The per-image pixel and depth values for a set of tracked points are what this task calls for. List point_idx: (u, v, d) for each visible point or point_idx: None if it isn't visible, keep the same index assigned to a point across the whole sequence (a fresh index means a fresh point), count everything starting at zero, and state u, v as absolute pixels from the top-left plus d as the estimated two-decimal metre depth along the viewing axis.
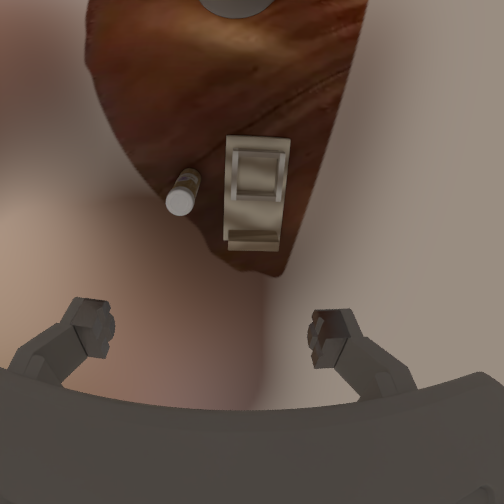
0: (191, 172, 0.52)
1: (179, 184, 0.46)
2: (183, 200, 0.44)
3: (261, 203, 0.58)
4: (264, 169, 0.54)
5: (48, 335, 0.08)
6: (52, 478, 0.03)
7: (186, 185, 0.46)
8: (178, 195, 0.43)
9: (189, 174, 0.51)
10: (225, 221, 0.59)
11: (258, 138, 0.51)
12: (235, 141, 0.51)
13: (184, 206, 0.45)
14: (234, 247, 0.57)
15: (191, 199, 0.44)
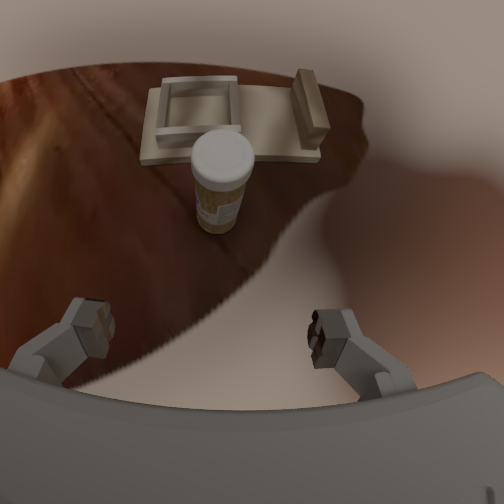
0: None
1: (195, 181, 0.22)
2: (215, 144, 0.19)
3: (248, 108, 0.34)
4: (193, 108, 0.33)
5: (48, 335, 0.08)
6: (52, 478, 0.03)
7: None
8: (203, 153, 0.19)
9: None
10: (287, 153, 0.33)
11: (145, 120, 0.32)
12: (148, 147, 0.31)
13: (229, 142, 0.19)
14: (322, 119, 0.30)
15: (213, 130, 0.20)
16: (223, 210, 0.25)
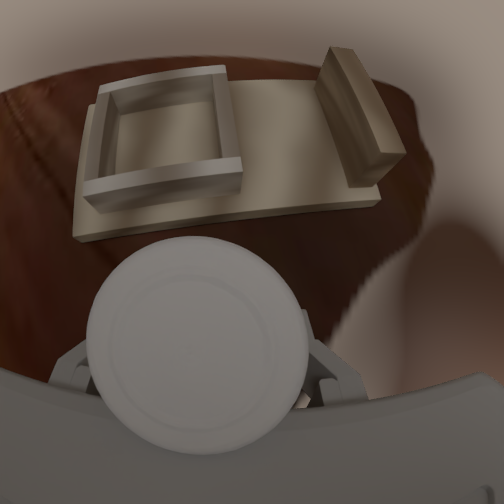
0: None
1: None
2: (157, 317, 0.05)
3: (250, 118, 0.20)
4: (155, 129, 0.19)
5: None
6: (52, 478, 0.03)
7: None
8: (121, 361, 0.05)
9: None
10: (327, 198, 0.19)
11: (80, 161, 0.18)
12: (85, 211, 0.17)
13: (211, 303, 0.05)
14: (391, 136, 0.15)
15: (144, 252, 0.05)
16: None
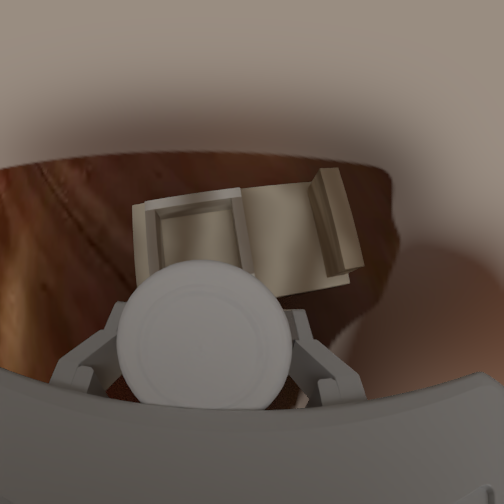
0: None
1: None
2: (175, 324, 0.07)
3: (259, 226, 0.30)
4: (191, 235, 0.29)
5: (93, 343, 0.08)
6: (52, 478, 0.03)
7: None
8: (147, 358, 0.06)
9: None
10: (311, 287, 0.29)
11: (136, 258, 0.28)
12: None
13: (216, 313, 0.07)
14: (355, 253, 0.25)
15: (163, 273, 0.07)
16: None
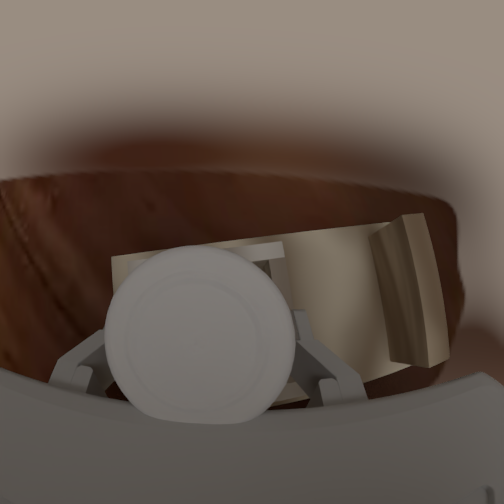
0: None
1: None
2: (167, 314, 0.06)
3: (304, 294, 0.20)
4: None
5: (92, 343, 0.08)
6: (52, 478, 0.03)
7: None
8: (136, 352, 0.06)
9: None
10: (370, 376, 0.19)
11: None
12: None
13: (212, 302, 0.06)
14: (442, 343, 0.15)
15: (155, 259, 0.06)
16: None
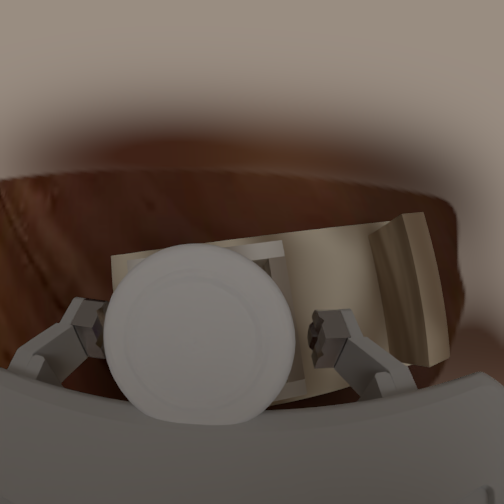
0: None
1: None
2: (166, 312, 0.06)
3: (304, 293, 0.20)
4: None
5: (48, 335, 0.08)
6: (52, 478, 0.03)
7: None
8: (135, 351, 0.06)
9: None
10: None
11: None
12: None
13: (211, 300, 0.06)
14: (442, 342, 0.15)
15: (154, 257, 0.06)
16: None
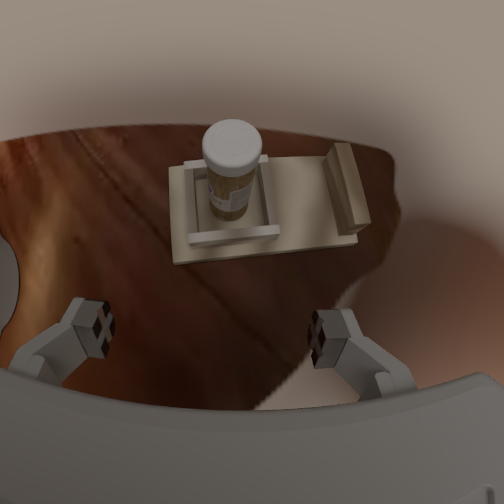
0: None
1: (207, 169, 0.23)
2: (224, 133, 0.20)
3: (281, 189, 0.34)
4: None
5: (48, 335, 0.08)
6: (52, 478, 0.03)
7: None
8: (214, 142, 0.20)
9: None
10: (325, 243, 0.33)
11: (171, 212, 0.33)
12: (180, 246, 0.32)
13: (237, 130, 0.21)
14: (363, 212, 0.29)
15: (221, 121, 0.21)
16: (236, 196, 0.26)
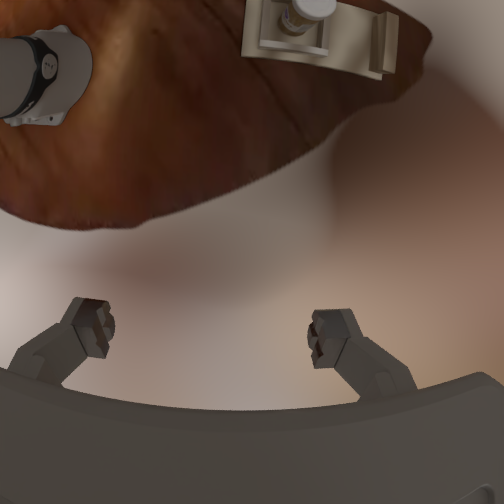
0: (282, 14, 0.29)
1: (291, 7, 0.23)
2: None
3: (335, 25, 0.31)
4: None
5: (48, 335, 0.08)
6: (52, 478, 0.03)
7: None
8: None
9: (283, 12, 0.27)
10: (357, 71, 0.35)
11: (246, 20, 0.31)
12: (249, 45, 0.33)
13: None
14: (391, 64, 0.30)
15: None
16: (305, 26, 0.26)
